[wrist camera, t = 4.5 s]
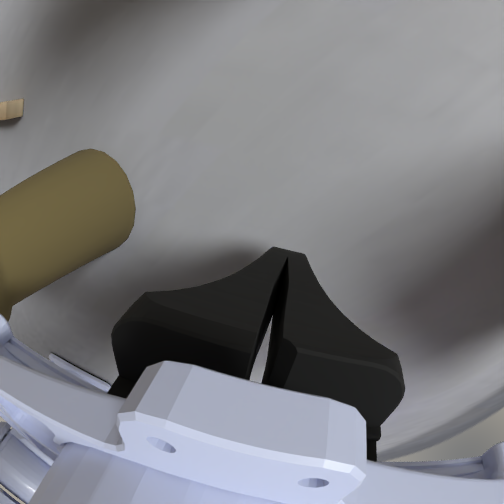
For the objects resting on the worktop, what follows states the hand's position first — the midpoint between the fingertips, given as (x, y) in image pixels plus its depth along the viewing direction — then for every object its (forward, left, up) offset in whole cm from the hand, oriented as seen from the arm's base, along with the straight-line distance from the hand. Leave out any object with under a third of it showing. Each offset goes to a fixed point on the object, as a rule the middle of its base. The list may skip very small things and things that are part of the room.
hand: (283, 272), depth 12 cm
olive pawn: (0, +11, -3) cm, 11 cm away
